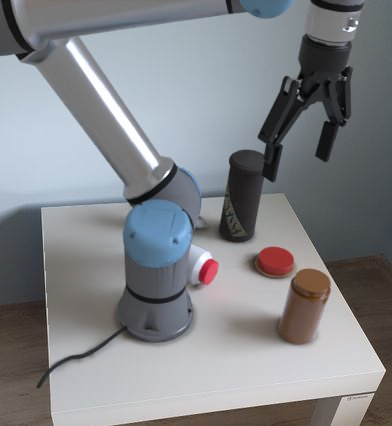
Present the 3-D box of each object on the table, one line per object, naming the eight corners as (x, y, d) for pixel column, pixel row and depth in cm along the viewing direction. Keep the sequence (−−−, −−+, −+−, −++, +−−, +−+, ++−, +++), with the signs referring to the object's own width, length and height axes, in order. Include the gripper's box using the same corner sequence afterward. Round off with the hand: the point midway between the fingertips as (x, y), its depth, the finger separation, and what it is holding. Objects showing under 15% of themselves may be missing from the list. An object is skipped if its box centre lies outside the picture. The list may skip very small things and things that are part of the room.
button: (211, 224, 128) (190, 220, 119) (208, 230, 129) (187, 226, 120) (183, 202, 131) (161, 196, 123) (179, 207, 132) (157, 202, 123)
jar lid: (299, 269, 119) (301, 263, 118) (269, 278, 116) (271, 272, 115) (279, 249, 124) (281, 243, 122) (251, 257, 121) (252, 251, 120)
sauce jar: (296, 349, 104) (312, 299, 93) (270, 326, 107) (283, 275, 97) (323, 334, 107) (341, 284, 97) (297, 312, 111) (312, 261, 101)
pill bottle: (173, 267, 120) (213, 287, 116) (155, 270, 113) (197, 292, 109) (184, 235, 117) (225, 255, 113) (166, 236, 110) (209, 257, 106)
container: (213, 223, 129) (224, 147, 114) (247, 220, 132) (262, 144, 117) (224, 245, 124) (237, 168, 109) (259, 241, 126) (277, 165, 111)
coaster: (273, 283, 116) (273, 281, 116) (247, 261, 121) (247, 259, 120) (302, 270, 120) (302, 268, 120) (276, 249, 125) (276, 247, 124)
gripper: (286, 59, 70) (259, 198, 86) (399, 33, 82) (356, 160, 98) (249, 40, 74) (229, 177, 90) (362, 18, 85) (327, 142, 101)
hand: (295, 168), depth 94 cm, fingers open, 13 cm apart
